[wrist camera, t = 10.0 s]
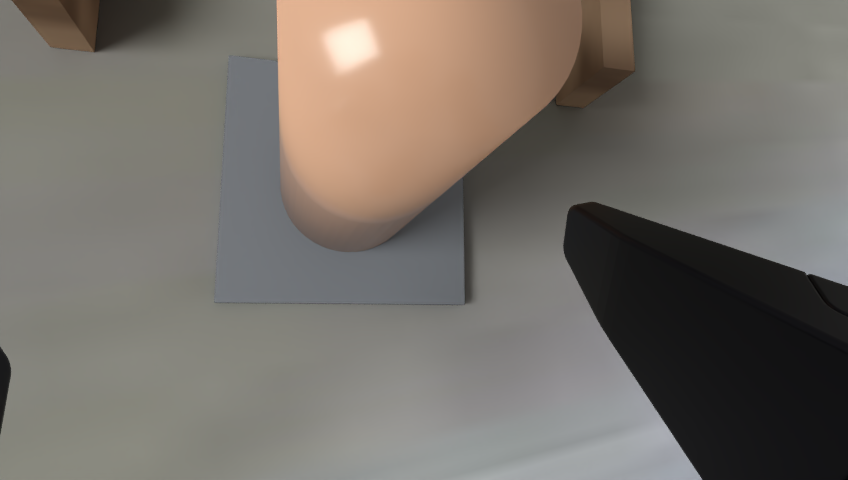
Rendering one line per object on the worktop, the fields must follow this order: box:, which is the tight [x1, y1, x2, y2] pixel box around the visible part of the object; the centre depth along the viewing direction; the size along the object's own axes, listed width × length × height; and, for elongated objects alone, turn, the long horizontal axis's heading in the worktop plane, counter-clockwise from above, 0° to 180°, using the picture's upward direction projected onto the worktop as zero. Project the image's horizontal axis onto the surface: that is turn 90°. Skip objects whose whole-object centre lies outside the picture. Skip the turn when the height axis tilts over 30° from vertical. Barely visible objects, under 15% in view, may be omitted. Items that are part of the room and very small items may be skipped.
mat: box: [214, 55, 465, 305], centre depth 22 cm, size 10×10×1 cm
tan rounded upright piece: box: [277, 0, 582, 252], centre depth 16 cm, size 8×6×14 cm
